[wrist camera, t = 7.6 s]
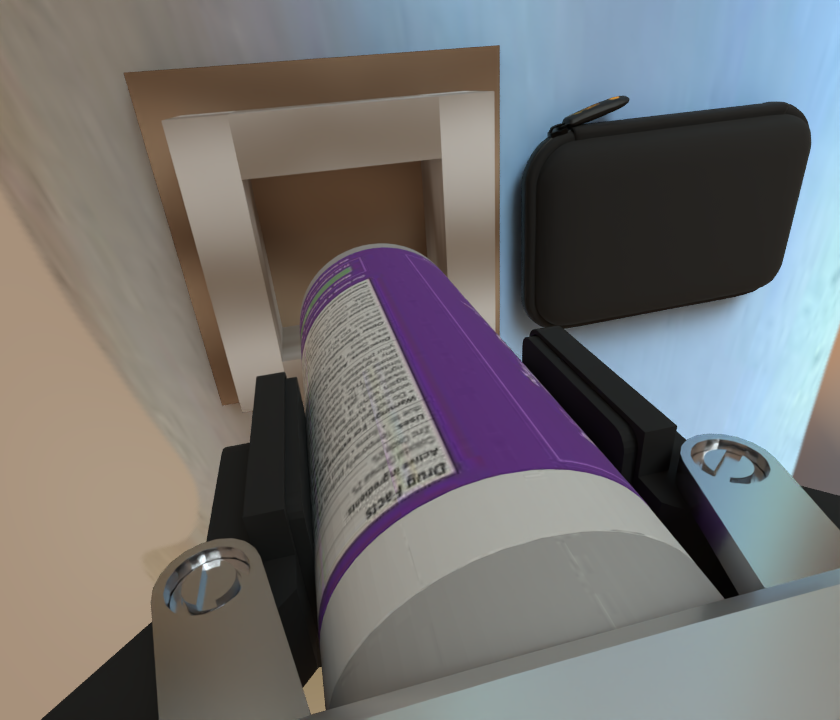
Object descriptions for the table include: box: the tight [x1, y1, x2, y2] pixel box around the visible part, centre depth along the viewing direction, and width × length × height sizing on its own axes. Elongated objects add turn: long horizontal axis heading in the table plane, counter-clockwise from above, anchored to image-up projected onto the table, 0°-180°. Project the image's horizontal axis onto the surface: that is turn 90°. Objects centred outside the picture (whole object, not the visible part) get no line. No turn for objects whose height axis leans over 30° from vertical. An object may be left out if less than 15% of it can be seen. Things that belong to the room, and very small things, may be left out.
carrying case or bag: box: [522, 96, 811, 329], centre depth 26 cm, size 11×3×15 cm
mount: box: [124, 45, 500, 413], centre depth 22 cm, size 14×14×5 cm
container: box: [300, 243, 724, 710], centre depth 9 cm, size 5×5×15 cm
